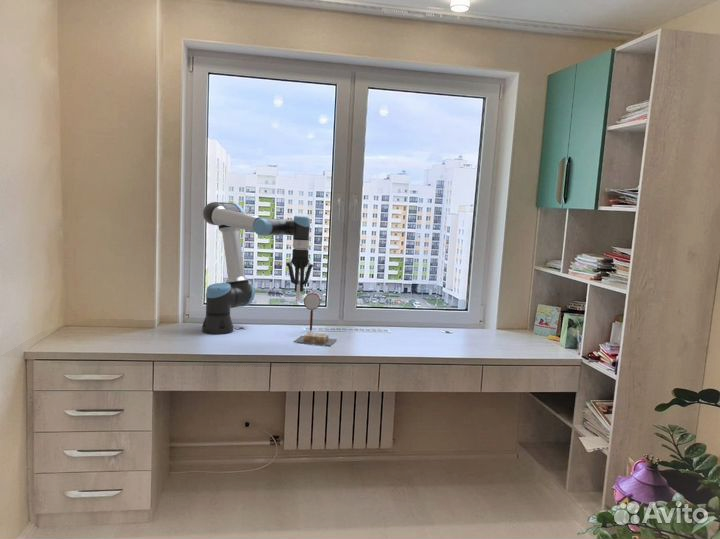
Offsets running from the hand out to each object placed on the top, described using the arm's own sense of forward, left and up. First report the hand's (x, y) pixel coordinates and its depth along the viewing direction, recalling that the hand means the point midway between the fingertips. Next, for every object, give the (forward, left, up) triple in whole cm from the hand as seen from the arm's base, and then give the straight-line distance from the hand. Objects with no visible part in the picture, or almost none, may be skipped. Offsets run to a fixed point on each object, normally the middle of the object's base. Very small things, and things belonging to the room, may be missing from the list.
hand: (298, 298), depth 248 cm
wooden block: (+5, 0, -18) cm, 19 cm away
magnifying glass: (+1, +20, -21) cm, 29 cm away
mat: (+9, +1, -20) cm, 22 cm away
